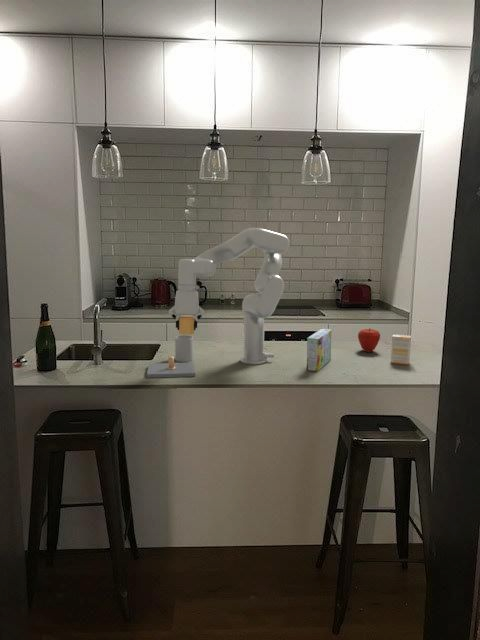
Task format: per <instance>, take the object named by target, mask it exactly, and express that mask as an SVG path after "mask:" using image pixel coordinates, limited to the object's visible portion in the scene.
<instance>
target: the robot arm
mask: <svg viewBox="0 0 480 640" xmlns="http://www.w3.org/2000/svg"><path fill="white" fill-rule="evenodd" d="M290 246H291V241H290V239H289V238H288V236H286V235H285V234H282V233H279V232H275V231H271V230H268V229H264V228H261V227H249V228H246V229H243V230H242V231H240V232H239V233H238V234H236V235H234V236H233V237H232V238H231V237H230V239H228V240H226V241H225V242H222V243H220V244H218V245H216V246H214V247H211V248H209V249H207V250H205V251H204V252H203V253H201V254H199V255H198V256H195V257H194V258H181V259H179V261H178V278H177V279H178V282H177V283H178V285H177V286H178V287H177V288H178V289H177V290H176V291H175V292H176V293H175V296H174V297H175V298H174V299H175V300H174V305H173V306H172V307H171V308H170V309H169V310H168V311H167V312H168V314H169V315H170V316H171V317H172V318H173V319H174V320H175V329H177V331H179V317H180V316H193V317H194V331H196V329H198V321H199V320H200V319H201V318H202V317H203V316H204V315H205V314H206V312H205V310H204V309H203V308H202V307H201V306H200V305H199V304H200V301H199V300H200V299H199V292H198V290H199V289H200V285H197V276H198V277H211V276H214V274H215V273H216V271H217V266H216V265H217V264H220V263H225V262H230V261H233V260H236V259H238V258H239V257H240V256H242V255H243V254H245V253H246V252H248V251H250V250H251V249H254V248H257V249H261V250H262V253H263V257H264V258H263V263H262V265H261V268H260V270H259V272H258V273H257V277H256V278H255V281H254V283H253V285H254V289H255V291H256V292H257V293H261V294H256V293H250V294H248V295H246V296H245V297H244V298H243V300H242V304H241V309H242V314H243V356H241V357H240V359H239V361H240V362H241V363H242V364H245V365H263V364H265V363H267V361H268V358H270V359H272V358H274V357H275V355H274V353H271V352H266V351H265V319H267V318H269V317H271V316H272V314H273V313H274V312H275V310H276V308H277V305H278V304H279V301H280V300H281V297H282V295H283V293H284V290H285V282H284V279H283V278H282V277H281V276H279V274H280V271H281V269H282V266H283V265H282V264H283V258H282V255H283V254H285V253H286V252H288V251H289V249H290ZM199 311H200V313H199ZM175 314H176V315H175Z"/></svg>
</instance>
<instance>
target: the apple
mask: <svg viewBox="0 0 480 640" xmlns="http://www.w3.org/2000/svg"><path fill="white" fill-rule="evenodd" d="M357 338H358V339H357V340H358V342H359V343H358V344H360V347H361V349H362V350H363V351H364V352H368V353H370V352H371V353H372V352H373V351H374V350H375V349H376V348H377V346H378V344H379V342H380V339H381V333H380V331H378V330H376V329H372V328H365V329H360V331H359V332H358V335H357Z"/></svg>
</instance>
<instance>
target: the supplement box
mask: <svg viewBox="0 0 480 640" xmlns="http://www.w3.org/2000/svg"><path fill="white" fill-rule="evenodd" d="M411 342H412V335H407V334H406V335H405V334H404V335H403V334H397V333H396V334H392V336H391V348H390V349H391V350H390V364H398V365H406V366H409V365H410V363H411V361H410V360H411V344H412V343H411Z"/></svg>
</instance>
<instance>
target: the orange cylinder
mask: <svg viewBox="0 0 480 640" xmlns="http://www.w3.org/2000/svg"><path fill="white" fill-rule="evenodd" d="M194 319H195V318H194V316H193V315H180V317H179V330H178V334H179V335H189V336H191V335H194V334H195V330H194Z"/></svg>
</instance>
